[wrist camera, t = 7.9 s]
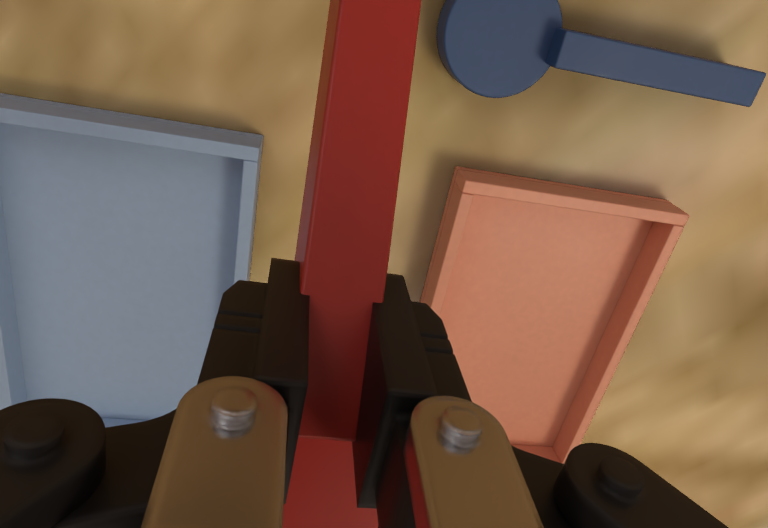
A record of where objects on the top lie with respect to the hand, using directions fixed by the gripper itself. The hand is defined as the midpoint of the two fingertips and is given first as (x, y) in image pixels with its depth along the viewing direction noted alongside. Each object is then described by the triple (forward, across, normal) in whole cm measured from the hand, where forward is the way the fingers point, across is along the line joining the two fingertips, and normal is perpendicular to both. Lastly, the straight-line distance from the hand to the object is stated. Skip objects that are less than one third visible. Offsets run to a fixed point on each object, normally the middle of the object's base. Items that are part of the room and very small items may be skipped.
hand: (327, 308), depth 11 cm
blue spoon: (+15, -10, -5) cm, 19 cm away
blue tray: (+15, +8, +10) cm, 20 cm away
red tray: (+15, -12, +9) cm, 22 cm away
